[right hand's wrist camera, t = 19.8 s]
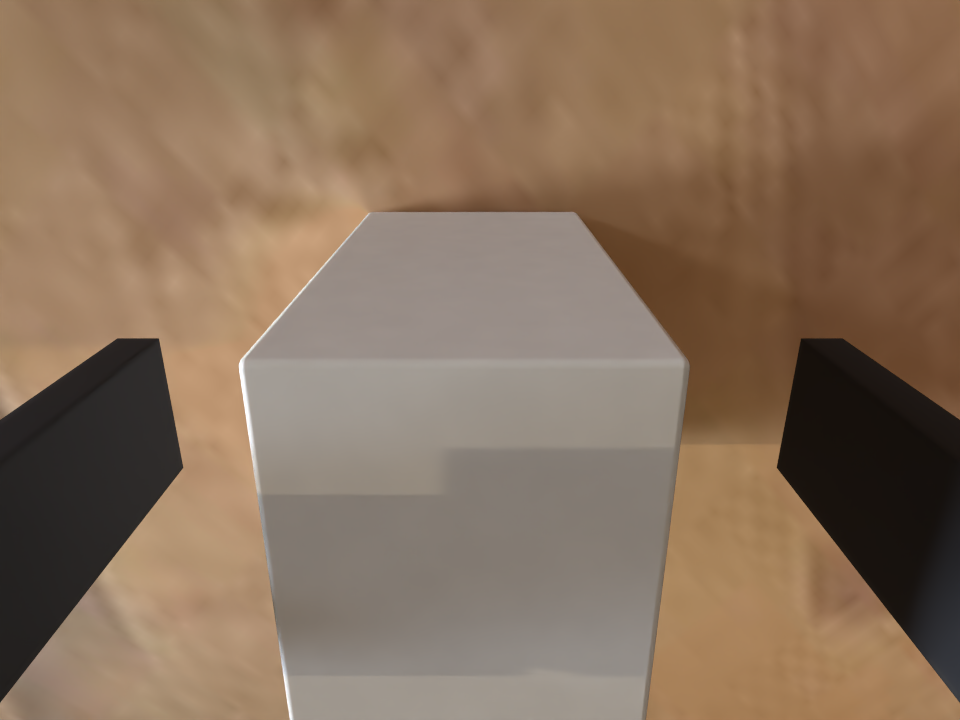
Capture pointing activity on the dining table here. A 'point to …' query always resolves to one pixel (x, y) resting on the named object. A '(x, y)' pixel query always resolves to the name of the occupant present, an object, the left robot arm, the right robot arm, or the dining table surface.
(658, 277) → the dining table surface
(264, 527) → the block
